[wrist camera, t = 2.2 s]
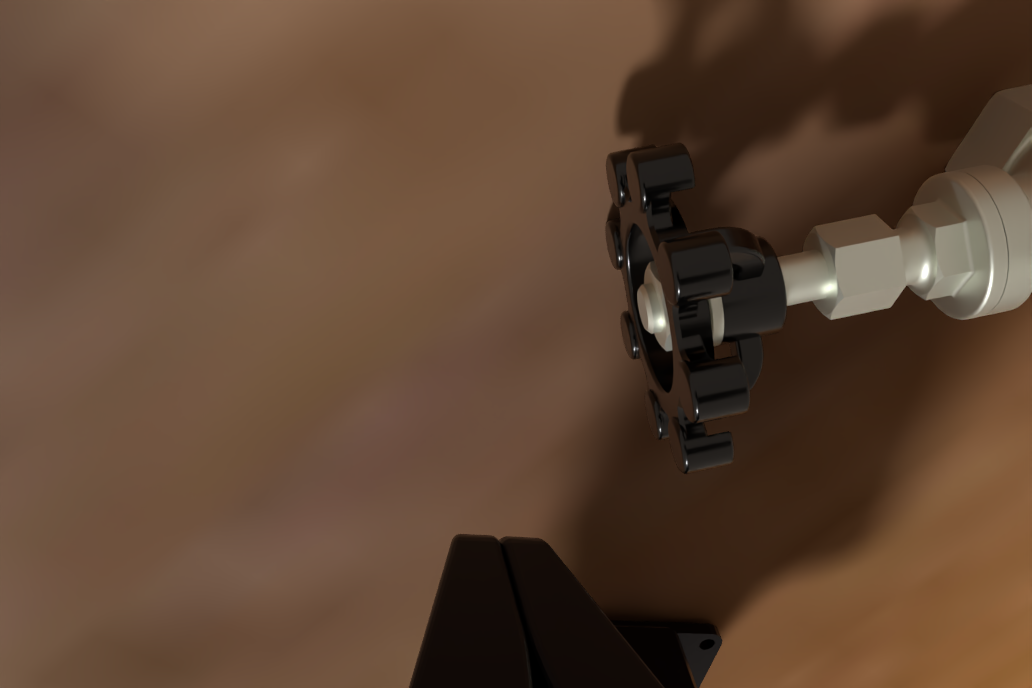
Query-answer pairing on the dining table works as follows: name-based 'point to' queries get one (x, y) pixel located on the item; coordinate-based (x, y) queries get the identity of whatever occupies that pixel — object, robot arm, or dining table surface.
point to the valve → (806, 270)
